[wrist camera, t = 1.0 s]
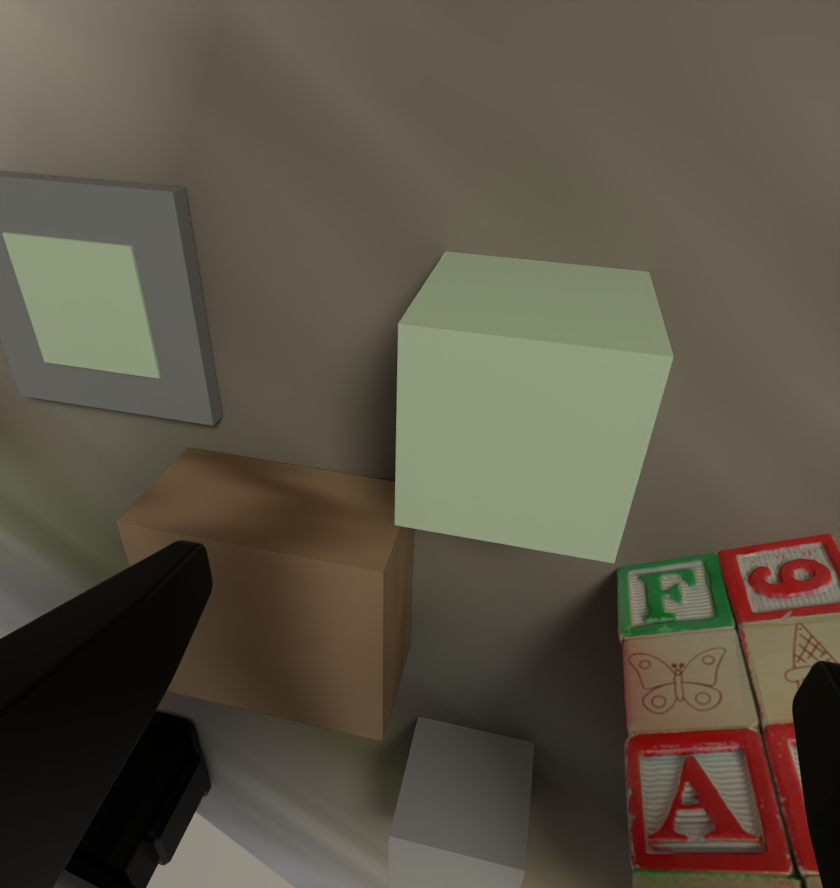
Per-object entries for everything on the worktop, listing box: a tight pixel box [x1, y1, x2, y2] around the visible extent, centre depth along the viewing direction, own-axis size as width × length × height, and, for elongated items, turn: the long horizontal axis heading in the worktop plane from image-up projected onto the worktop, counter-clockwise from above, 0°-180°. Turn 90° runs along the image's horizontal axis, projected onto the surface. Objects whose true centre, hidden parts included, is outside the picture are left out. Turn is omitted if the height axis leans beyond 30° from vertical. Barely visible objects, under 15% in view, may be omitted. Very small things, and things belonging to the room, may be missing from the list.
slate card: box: [0, 171, 222, 426], centre depth 18 cm, size 7×7×1 cm
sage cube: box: [395, 252, 673, 563], centre depth 15 cm, size 5×5×5 cm
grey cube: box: [388, 717, 534, 888], centre depth 26 cm, size 5×5×5 cm
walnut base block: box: [116, 448, 414, 741], centre depth 21 cm, size 8×8×4 cm
